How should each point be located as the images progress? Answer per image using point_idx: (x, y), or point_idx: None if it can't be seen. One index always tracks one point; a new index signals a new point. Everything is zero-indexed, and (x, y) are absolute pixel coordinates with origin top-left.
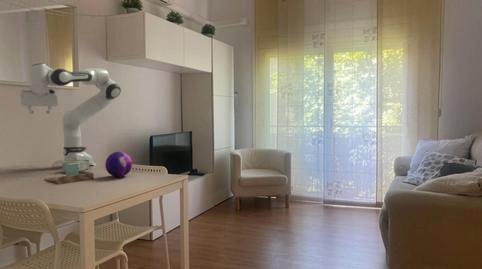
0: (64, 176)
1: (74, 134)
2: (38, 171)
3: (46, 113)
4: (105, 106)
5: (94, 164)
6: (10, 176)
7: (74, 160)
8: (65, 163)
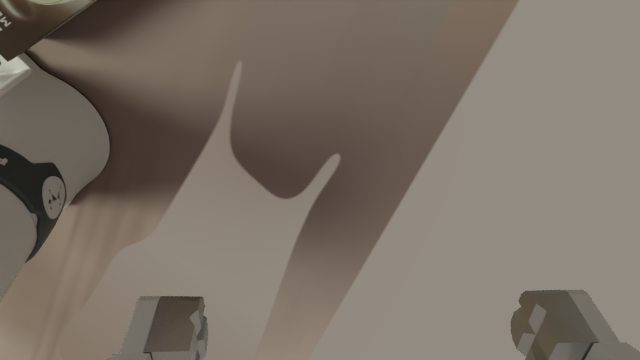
0: None
1: None
2: (269, 116)
3: (206, 326)
4: None
5: None
6: (453, 60)
7: (33, 15)
8: None
